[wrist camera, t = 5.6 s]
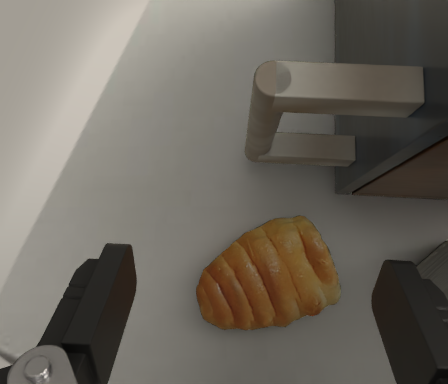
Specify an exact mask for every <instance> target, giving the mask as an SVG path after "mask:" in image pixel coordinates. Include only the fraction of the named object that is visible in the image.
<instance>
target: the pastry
mask: <svg viewBox="0 0 448 384" xmlns="http://www.w3.org/2000/svg"><path fill="white" fill-rule="evenodd" d="M196 295H197V301H198V303H199V306H200V311H201V314H202V317H203V319H204V320H206V321H207V322H209V323H211V324H213V325H215V326H217V327H219V328H221V329H224V330H226V329H242V330H248V329H250V330H255V329H259V328H265V327H269V326H279V327H286V326H288V325H289V324H290V323H291V322H293V321H294V320H298V319H300V318H302V317H304V316H306V315H308V316H315V315H317V314H319V313H320V312H321V311H322V310H323V309H324V308H325V307H327V306H328V305H334V304H336V303H337V302H338V301H339V299H340V295H341V286H340V283H339V279H338V273H337V271H336V269H335V265H334V262H333V260H332V257H331V254H330V251H329V249H328V247H327V245H326V244H325V243H324V242H323V240H322V239H321V235H320V233H319V232H318V231H317V229H316V228H315V226H314V225H313V223H312V222H310V221H309V220H308V219H307V218H306V217H304V216H296V217H293V218H276V219H273V220H270V221H268V222H267V223H265V224H264V225H262V226H260V227H257V228H256V229H254V230H251V231H249V232H246V233H244V234H243V235H242V236H241V237H240V238H239V239H238V240H236V241H235V242H233V243H232V244H231V246H230V247H229V248H228V249H226V250H225V251H223V252H222V254H221V255H219V256H218V257H217V258H216V259H215V260H214V261H213V262H212V263H211V264H210V265H209V266H207V267H206V268H205V269H204V270H203V272H202V275H201V277H200V280H199V284H198V286H197V288H196Z"/></svg>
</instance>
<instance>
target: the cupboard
mask: <svg viewBox="0 0 448 384" xmlns="http://www.w3.org/2000/svg"><path fill="white" fill-rule="evenodd" d="M352 195H364V196H384V197H404V198H423V199H443V200H448V136H446V137H444V138H443V139H441V140H439V141H438V142H436V143H434V144H433V145H431V146H429V147H427V148H426V149H424V150H422V151H421V152H419V153H417V154H416V155H414V156H412V157H411V158H409V159H407V160H405V161H404V162H402V163H400V164H399V165H397V166H395V167H394V168H392V169H390V170H388V171H387V172H385V173H383V174H382V175H380V176H378V177H377V178H375V179H373V180H372V181H370V182H368V183H366V184H365V185H363V186H361V187H360V188H358V189H356V190H355V191H353V192H352Z"/></svg>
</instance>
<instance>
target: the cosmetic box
mask: <svg viewBox="0 0 448 384" xmlns="http://www.w3.org/2000/svg"><path fill="white" fill-rule="evenodd" d="M416 268H417V270H418V272H419V274H420V276H421V278H422V279H430V280H431V281H432V282H433V283H434V284H435V285H436V286H437V287H438V288H439V289H440V290H441V291H442V292H444V294H445V296H446V298H447V300H448V241H445V242H444V243H443V244H442V245H441V246H440V247H438V248H437V249H436V250H435V251H434V252H433V253H432V254H430V255H429V256H428V257H427V258H426V259H425V260H423V261H422V262H421V263H420V264H419V265H418V266H417V267H416Z"/></svg>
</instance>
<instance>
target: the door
mask: <svg viewBox="0 0 448 384" xmlns="http://www.w3.org/2000/svg"><path fill="white" fill-rule="evenodd" d="M283 112H292V113H314V114H335V135H326V134H305V133H283V132H276V131H277V128H278V125H279V122H280V119H281V116H282V114H283ZM446 136H448V0H335V63H322V62H299V61H268V62H265V63H263V64H262V65H260V66H259V67H258V68H257V70H256V72H255V74H254V81H253V88H252V96H251V104H250V111H249V119H248V127H247V134H246V142H245V155H246V157H247V158H248V159H249V160H251V161H253V162H262V163H282V164H303V165H323V166H335V193H336V194H349V193H351V192H353V191H355V190H356V189H358V188H360V187H361V186H363V185H365V184H366V183H368V182H370V181H372V180H373V179H375V178H377V177H378V176H380V175H382V174H383V173H385V172H387V171H388V170H390V169H392V168H394V167H395V166H397V165H399V164H400V163H402V162H404V161H405V160H407V159H409V158H411V157H412V156H414V155H416V154H417V153H419V152H421V151H422V150H424V149H426V148H427V147H429V146H431V145H433V144H434V143H436V142H438V141H439V140H441V139H443V138H444V137H446Z"/></svg>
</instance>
